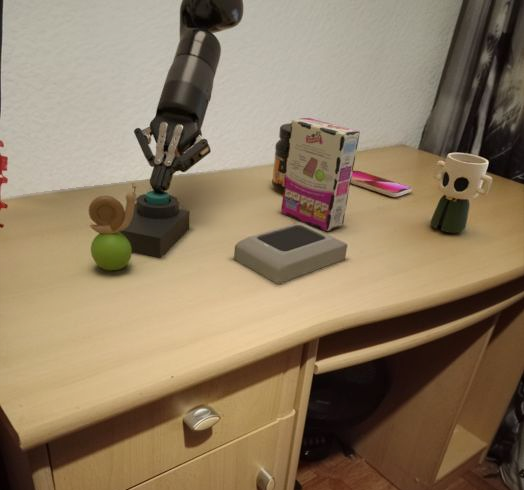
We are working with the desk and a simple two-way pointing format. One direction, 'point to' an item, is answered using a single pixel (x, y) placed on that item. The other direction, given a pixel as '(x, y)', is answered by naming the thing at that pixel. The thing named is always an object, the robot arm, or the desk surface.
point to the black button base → (156, 226)
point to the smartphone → (379, 184)
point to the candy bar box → (319, 172)
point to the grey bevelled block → (289, 252)
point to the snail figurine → (111, 230)
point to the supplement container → (281, 158)
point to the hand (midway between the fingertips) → (157, 190)
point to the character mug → (459, 189)
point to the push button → (157, 198)
